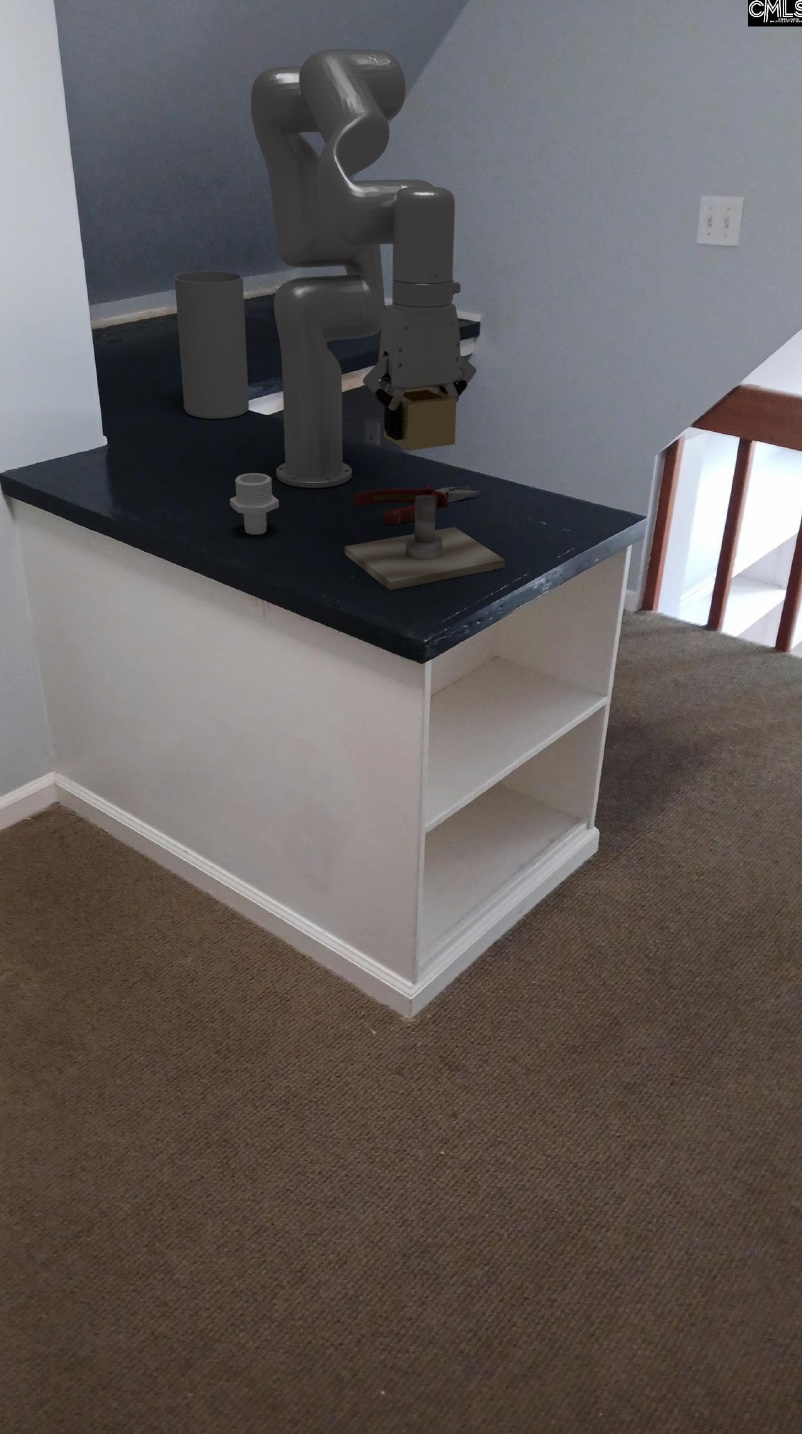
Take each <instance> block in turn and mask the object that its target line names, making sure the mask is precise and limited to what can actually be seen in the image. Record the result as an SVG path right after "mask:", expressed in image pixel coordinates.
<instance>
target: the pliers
mask: <svg viewBox="0 0 802 1434" xmlns="http://www.w3.org/2000/svg"><path fill="white" fill-rule="evenodd" d="M472 487H473V486H472V485H463V486H450V487H443V488H439V489H436V490H435V489H434V487H431V486H430V485H425V488H378V489H377V488H376V489H371V490H367V491H363V492H358V493H356V494H355V495H354V497H353V505H354V506H355V507H356V506H357V507H361V505H362V506H365V505H366V504H367V505H371V504H377V502H378V503H414V504H412V505H409V506H406V507H402V508H396V509H391V510H388V511H386V513H385V514H384V518H383V521H384V524H385V525H387V526H395V525H400V524H406V523H410V522H415V498H416V497H417V496H420V495H430V496H434V497H435V498H436V508H438V507H439V508H448V503H452V502H453V503H454V502H457V501H458V502H459V501H461V500H465V499H468V498H471V497H475V496H478V495H479V496H480V495H482V491H480V490H479V491H478V490H470V489H472Z"/></svg>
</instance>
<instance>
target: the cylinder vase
mask: <svg viewBox="0 0 802 1434" xmlns="http://www.w3.org/2000/svg"><path fill="white" fill-rule="evenodd" d="M243 277H244V276H243V275H242V274H240V273H235V272H230V271H219V270H217V271H216V270H201V271H190V272H189V271H187V272H182V273H178V274H176V275H174V287H175V300H176V301H175V302H176V314H177V315H176V316H177V327H178V329H177V330H178V340H179V342H178V343H179V353H180V367H181V382H182V393H183V395H182V396H183V408H184V410H185V411H184V412H186V413H187V414H188V415H190V416H192V417H195V418H200V419H207V420H208V419H209V420H220V419H222V420H223V419H231V418H236V417H239V416H242V415H244V414H246V413H247V412H248V410H249V407H250V404H249V403H250V401H249V383H248V382H249V381H248V379H249V377H248V362H247V361H248V360H247V341H246V340H247V339H246V321H245V320H246V317H245V300H244V299H245V298H244V297H245V296H244V294H245V293H244V278H243Z"/></svg>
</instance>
